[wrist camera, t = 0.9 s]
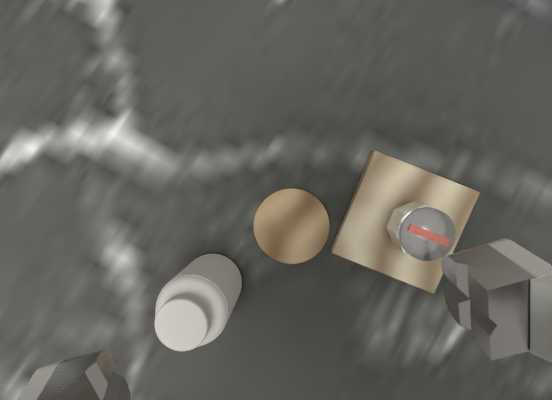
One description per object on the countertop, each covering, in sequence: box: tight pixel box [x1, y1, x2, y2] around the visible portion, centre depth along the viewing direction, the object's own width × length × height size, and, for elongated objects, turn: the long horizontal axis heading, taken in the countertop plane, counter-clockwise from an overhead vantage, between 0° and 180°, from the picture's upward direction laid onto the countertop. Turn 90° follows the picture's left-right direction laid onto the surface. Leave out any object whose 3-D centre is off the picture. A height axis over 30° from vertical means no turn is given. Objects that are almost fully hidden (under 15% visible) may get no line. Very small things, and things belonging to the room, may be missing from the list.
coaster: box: [254, 188, 330, 264], centre depth 50 cm, size 10×10×1 cm
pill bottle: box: [155, 254, 242, 351], centre depth 44 cm, size 8×8×15 cm
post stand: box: [330, 151, 480, 294], centre depth 45 cm, size 14×14×9 cm
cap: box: [387, 201, 456, 261], centre depth 41 cm, size 6×6×6 cm
